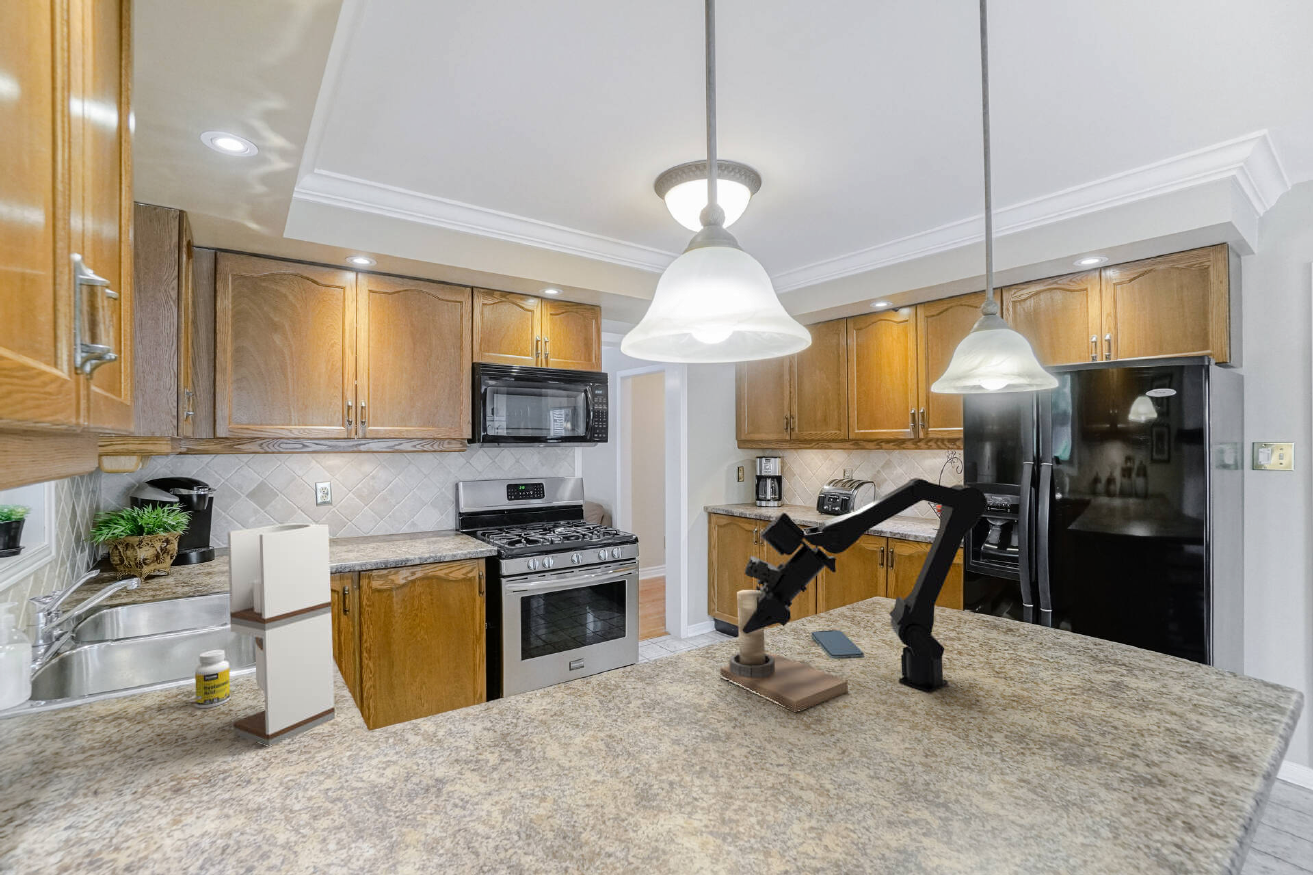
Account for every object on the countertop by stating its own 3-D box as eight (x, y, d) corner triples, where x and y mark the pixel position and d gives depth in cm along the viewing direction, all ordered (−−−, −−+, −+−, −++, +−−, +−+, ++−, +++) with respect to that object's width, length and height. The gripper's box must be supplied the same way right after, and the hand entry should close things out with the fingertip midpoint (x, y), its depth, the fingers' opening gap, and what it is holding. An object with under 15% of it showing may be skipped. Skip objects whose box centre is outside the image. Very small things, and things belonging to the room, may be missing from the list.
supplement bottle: (201, 711, 114) (199, 659, 114) (191, 704, 118) (190, 654, 118) (234, 701, 119) (233, 651, 119) (224, 694, 122) (223, 646, 122)
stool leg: (768, 660, 121) (765, 590, 122) (761, 669, 117) (758, 596, 117) (744, 657, 124) (741, 588, 124) (736, 665, 119) (733, 594, 119)
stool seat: (847, 691, 113) (846, 670, 113) (795, 713, 105) (794, 689, 105) (770, 661, 129) (769, 642, 129) (720, 677, 122) (719, 658, 122)
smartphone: (831, 655, 130) (809, 631, 145) (831, 663, 130) (810, 637, 145) (865, 653, 130) (840, 629, 145) (866, 661, 130) (841, 636, 145)
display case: (299, 707, 115) (293, 522, 115) (334, 717, 110) (328, 524, 110) (234, 734, 105) (227, 531, 105) (269, 747, 100) (262, 534, 100)
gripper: (766, 535, 129) (716, 587, 131) (769, 552, 111) (711, 612, 112) (805, 572, 128) (755, 624, 130) (815, 595, 109) (756, 655, 111)
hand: (744, 627), depth 121 cm, fingers closed on stool leg, 5 cm apart
